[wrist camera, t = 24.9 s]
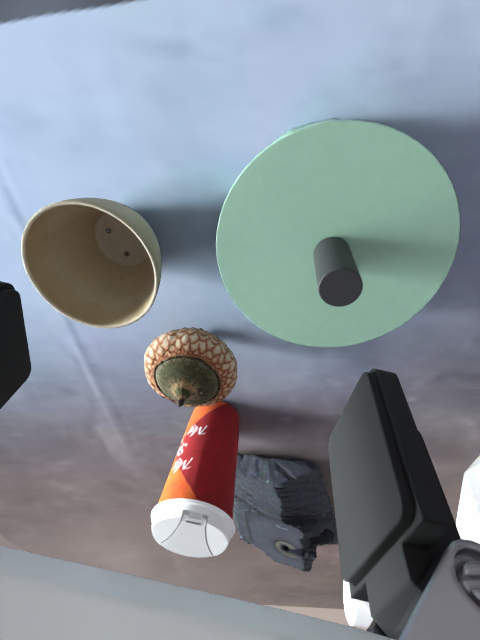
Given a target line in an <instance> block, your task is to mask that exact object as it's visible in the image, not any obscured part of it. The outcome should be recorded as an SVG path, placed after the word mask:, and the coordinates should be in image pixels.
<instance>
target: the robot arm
mask: <svg viewBox="0 0 480 640" xmlns="http://www.w3.org/2000/svg"><path fill="white" fill-rule="evenodd" d="M30 372H31V362H30V356H29V350H28V343H27V337H26V331H25V324H24V318H23V311H22V305H21V299H20V294H19V293H18V292H17V291H15V289H14V287H13V285H11V284H9V283H5V282H1V281H0V409H1V408H2V407H3V405H4V404H5V403H6V402H7V401H8V400H9V399H10V398H11V397H12V395H13V394H14V393H15V392H16V391H17V390H18V389H19V388H20V387H21V385H22V384H23V383H24V382H25V381H26V380H27V378H28V377H29V375H30ZM328 453H329V462H330V471H331V481H332V490H333V499H334V508H335V518H336V527H337V536H338V545H339V555H340V564H341V572H342V577H343V580H344V581H345V582H348V583H349V587H350V595H351V599H356V600H360V601H365V602H369V607H370V613H371V617H372V618H373V621H372V622H371V624H370V626H369V627H368V629H367V631H365V630H362V629H358V628H354V627H350V626H346V625H342V624H338V623H334V622H330V621H326V620H322V619H318V618H314V617H310V616H306V615H302V614H298V613H294V612H290V611H286V610H282V609H277V608H273V607H269V606H264V605H260V604H256V603H251V602H247V601H242V600H238V599H234V598H229V597H225V596H220V595H216V594H212V593H207V592H203V591H198V590H194V589H190V588H185V587H181V586H177V585H172V584H168V583H163V582H159V581H155V580H150V579H146V578H141V577H137V576H132V575H128V574H123V573H119V572H114V571H110V570H105V569H101V568H96V567H92V566H87V565H83V564H78V563H74V562H69V561H65V560H60V559H56V558H51V557H47V556H42V555H38V554H33V553H29V552H24V551H20V550H15V549H10V548H6V547H1V546H0V640H480V544H479V543H477V542H474V541H472V540H465V539H461V537H460V535H459V532H458V529H457V527H456V524H455V521H454V519H453V516H452V514H451V511H450V508H449V506H448V503H447V500H446V498H445V495H444V493H443V490H442V487H441V485H440V482H439V479H438V477H437V474H436V472H435V469H434V466H433V464H432V461H431V458H430V456H429V453H428V451H427V448H426V445H425V443H424V440H423V437H422V436H421V434H420V432H419V431H418V430H417V427H416V425H415V422H414V419H413V417H412V414H411V411H410V409H409V406H408V403H407V401H406V398H405V395H404V393H403V390H402V387H401V385H400V382H399V379H398V377H397V375H396V374H395V373H391V372H387V371H383V370H378V369H372V370H371V371H370V372H369V373H367V372H364V373H363V374H362V376H361V378H360V380H359V381H358V383H357V385H356V387H355V389H354V391H353V393H352V395H351V397H350V399H349V401H348V402H347V404H346V406H345V408H344V410H343V412H342V414H341V416H340V418H339V420H338V422H337V424H336V425H335V427H334V429H333V431H332V433H331V435H330V438H329V442H328Z"/></svg>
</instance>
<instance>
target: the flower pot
mask: <svg viewBox="0 0 480 640" xmlns="http://www.w3.org/2000/svg"><path fill="white" fill-rule="evenodd" d="M107 230H108V231H110V233H109V232H107ZM127 252H128V253H129V255H128V254H127ZM21 253H22V260H23V264H24V267H25V270H26V272H27V275H28V277H29V279H30V280H31V282H32V284H33V285H34V287H35V288H36V290H37V291H38V292H39V294H40V295H41V296H42V297H43V298H44V299H45V300H46V301H47V302H48V303H49V304H50V305H51V306H52V307H53V308H55V309H56V310H57V311H59V312H60V313H62V314H63V315H65V316H67V317H68V318H70V319H72V320H75V321H77V322H79V323H82V324H85V325H88V326H92V327H97V328H118V327H123V326H126V325H129V324H132V323H134V322H136V321H138V320H139V319H141V318H142V317H143V316H144V315H145V314H146V313H147V312H148V311H149V309H150V308H151V306H152V305H153V303H154V300H155V298H156V295H157V292H158V288H159V284H160V279H161V268H162V261H161V253H160V248H159V244H158V241H157V238H156V236H155V233H154V231H153V229H152V228H151V226H150V225H149V223H148V222H147V221H146V220H145V219H144V218H143V217H142V216H141V215H140V214H139V213H137V212H136V211H135V210H133V209H131V208H130V207H128V206H126V205H123V204H121V203H118V202H115V201H111V200H106V199H99V198H77V199H69V200H64V201H60V202H56V203H53V204H50V205H48V206H46V207H44V208H42V209H40V210H39V211H38V212H37V213H35V214H34V215H33V216H32V217H31V219H30V220H29V221H28V223H27V225H26V227H25V229H24V232H23V235H22V240H21Z"/></svg>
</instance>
